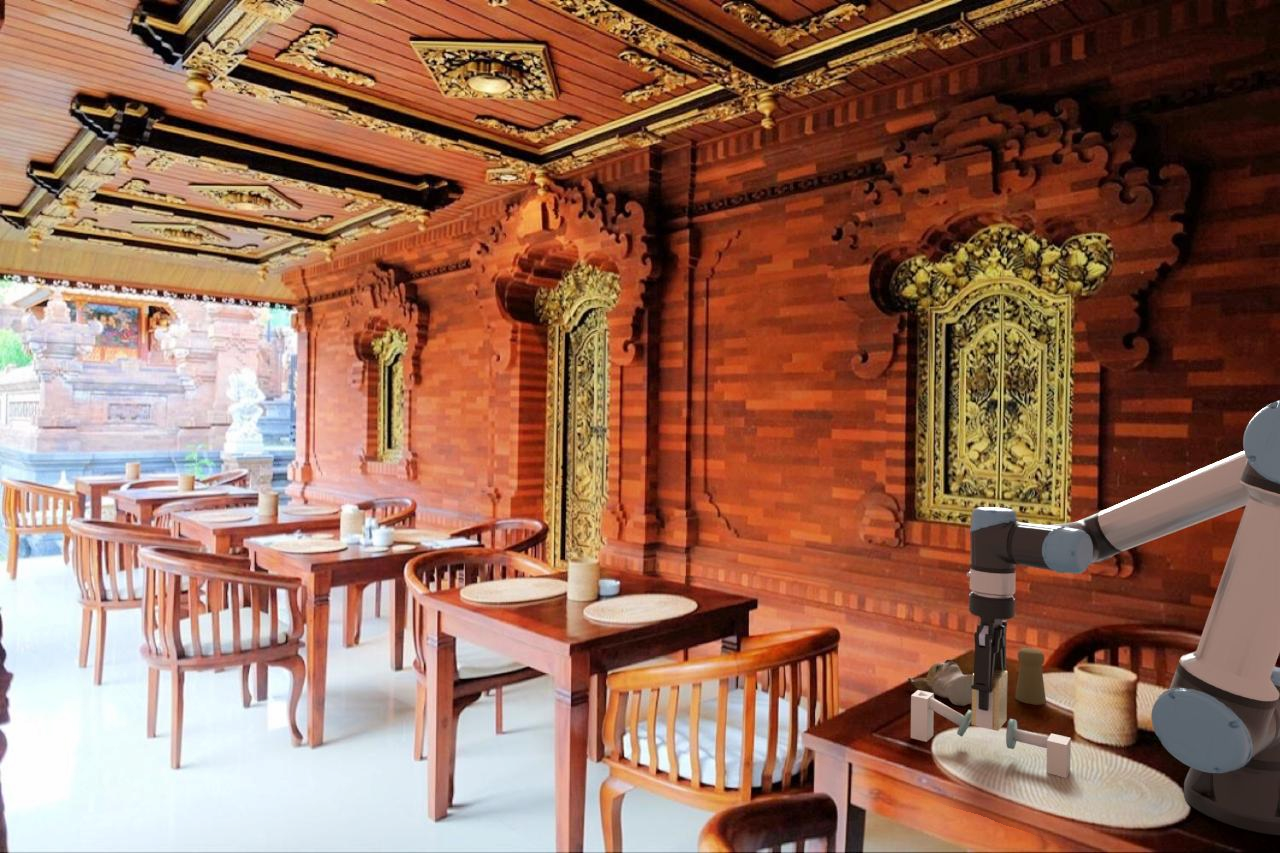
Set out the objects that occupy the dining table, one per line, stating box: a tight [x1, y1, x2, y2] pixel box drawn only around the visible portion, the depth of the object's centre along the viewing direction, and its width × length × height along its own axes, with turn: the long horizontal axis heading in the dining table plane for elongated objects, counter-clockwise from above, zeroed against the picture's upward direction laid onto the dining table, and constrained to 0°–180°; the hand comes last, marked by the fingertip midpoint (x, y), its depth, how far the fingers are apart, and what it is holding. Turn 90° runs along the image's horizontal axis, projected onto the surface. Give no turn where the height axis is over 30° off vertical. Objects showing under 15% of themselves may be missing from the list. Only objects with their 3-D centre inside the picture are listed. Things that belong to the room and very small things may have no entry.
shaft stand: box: [910, 689, 1072, 779], centre depth 138 cm, size 26×5×8 cm, turn 52°
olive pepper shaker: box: [1014, 647, 1047, 706], centre depth 166 cm, size 6×6×11 cm
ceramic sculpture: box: [907, 659, 972, 707], centre depth 167 cm, size 11×9×15 cm
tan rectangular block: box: [970, 668, 1008, 732], centre depth 137 cm, size 4×6×9 cm
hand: (989, 720), depth 137 cm, fingers closed on tan rectangular block, 6 cm apart
